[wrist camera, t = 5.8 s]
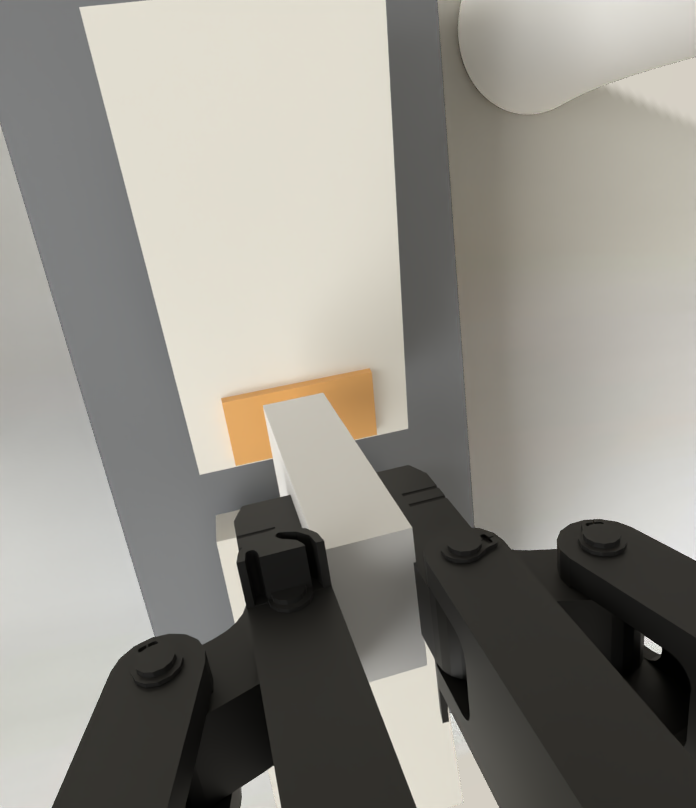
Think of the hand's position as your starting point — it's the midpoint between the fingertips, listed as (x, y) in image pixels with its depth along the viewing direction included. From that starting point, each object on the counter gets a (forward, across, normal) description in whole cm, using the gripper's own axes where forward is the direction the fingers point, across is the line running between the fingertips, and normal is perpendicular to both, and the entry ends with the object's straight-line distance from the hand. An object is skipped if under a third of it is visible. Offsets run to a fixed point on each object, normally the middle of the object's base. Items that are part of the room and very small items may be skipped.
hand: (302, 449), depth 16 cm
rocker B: (+3, 0, +5) cm, 6 cm away
